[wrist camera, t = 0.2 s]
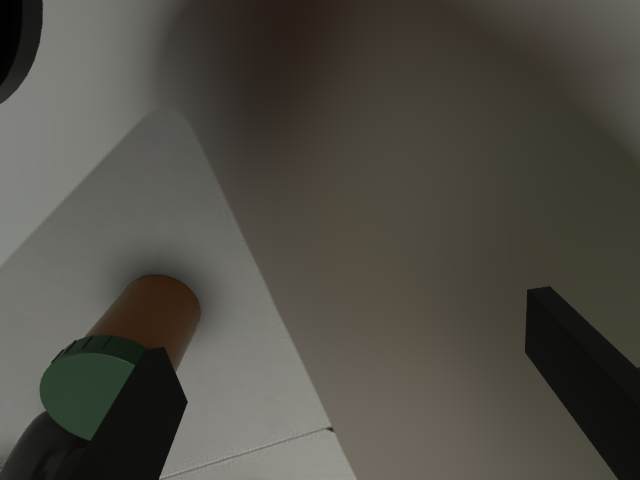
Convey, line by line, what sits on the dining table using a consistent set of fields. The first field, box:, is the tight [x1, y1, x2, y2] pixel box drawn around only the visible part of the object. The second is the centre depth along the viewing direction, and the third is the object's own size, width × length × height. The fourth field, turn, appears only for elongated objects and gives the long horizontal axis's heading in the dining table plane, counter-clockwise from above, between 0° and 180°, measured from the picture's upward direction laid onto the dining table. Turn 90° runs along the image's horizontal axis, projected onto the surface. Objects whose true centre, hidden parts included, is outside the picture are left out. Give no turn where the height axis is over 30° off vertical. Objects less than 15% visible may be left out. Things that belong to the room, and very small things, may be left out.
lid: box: [40, 335, 148, 441], centre depth 28 cm, size 8×8×2 cm
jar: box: [84, 275, 201, 373], centre depth 32 cm, size 7×7×11 cm
